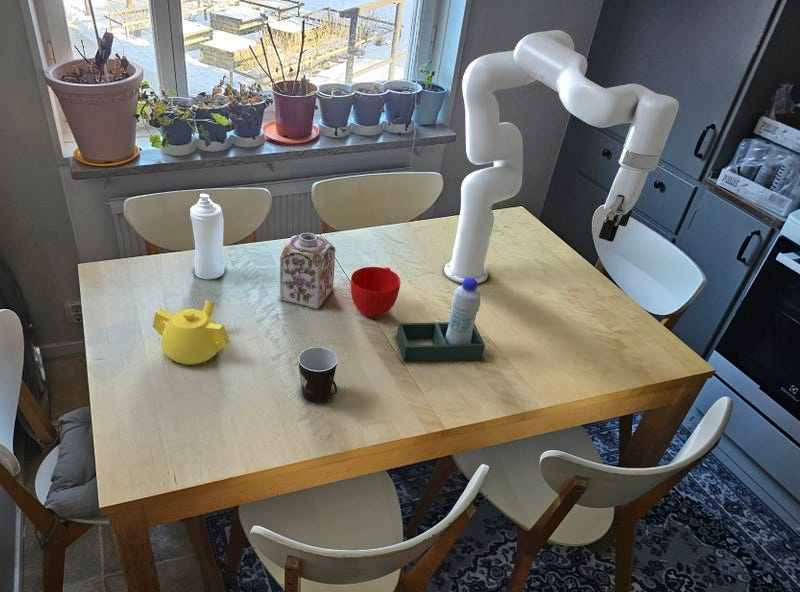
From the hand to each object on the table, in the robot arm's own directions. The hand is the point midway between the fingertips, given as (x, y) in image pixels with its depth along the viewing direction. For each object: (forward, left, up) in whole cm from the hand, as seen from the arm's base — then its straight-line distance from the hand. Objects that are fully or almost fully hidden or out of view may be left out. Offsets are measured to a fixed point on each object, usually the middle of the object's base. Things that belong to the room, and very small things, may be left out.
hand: (612, 231), depth 144 cm
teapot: (-3, -96, -31) cm, 101 cm away
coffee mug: (+18, -68, -31) cm, 77 cm away
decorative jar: (-25, -67, -31) cm, 78 cm away
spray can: (-37, -94, -31) cm, 106 cm away
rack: (+1, -36, -31) cm, 48 cm away
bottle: (+1, -31, -31) cm, 44 cm away
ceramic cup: (-18, -49, -31) cm, 61 cm away
